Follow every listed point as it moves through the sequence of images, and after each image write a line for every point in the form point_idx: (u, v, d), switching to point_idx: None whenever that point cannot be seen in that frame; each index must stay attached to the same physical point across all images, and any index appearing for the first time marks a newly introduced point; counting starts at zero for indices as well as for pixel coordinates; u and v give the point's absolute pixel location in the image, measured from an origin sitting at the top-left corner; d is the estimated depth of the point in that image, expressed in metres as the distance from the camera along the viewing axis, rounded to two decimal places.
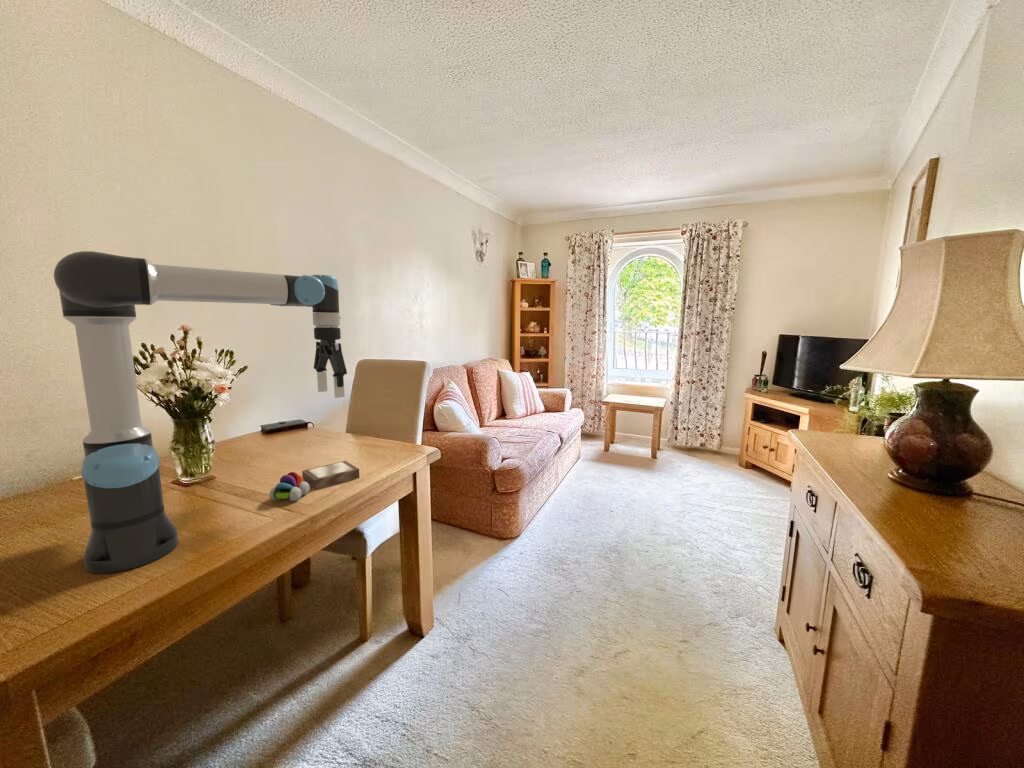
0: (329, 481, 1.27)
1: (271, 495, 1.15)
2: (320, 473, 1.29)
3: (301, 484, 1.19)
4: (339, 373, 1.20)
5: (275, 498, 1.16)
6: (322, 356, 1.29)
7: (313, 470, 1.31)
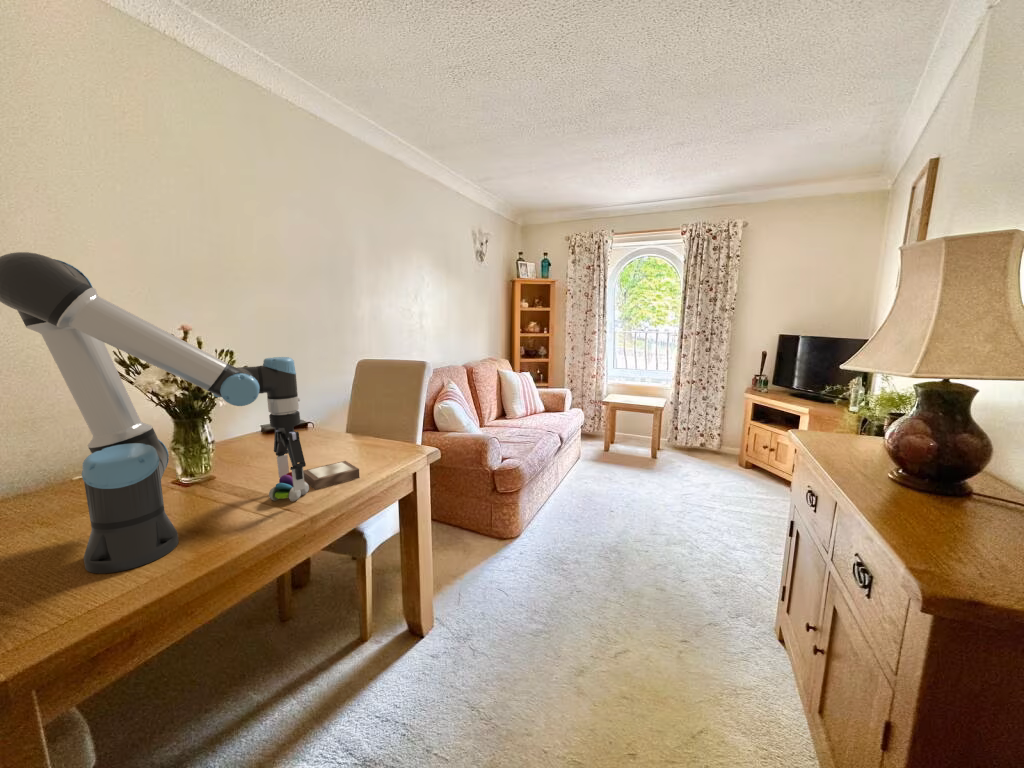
0: (329, 481, 1.27)
1: (270, 495, 1.15)
2: (320, 473, 1.29)
3: None
4: (297, 467, 1.10)
5: (274, 498, 1.16)
6: (281, 442, 1.18)
7: (313, 470, 1.31)
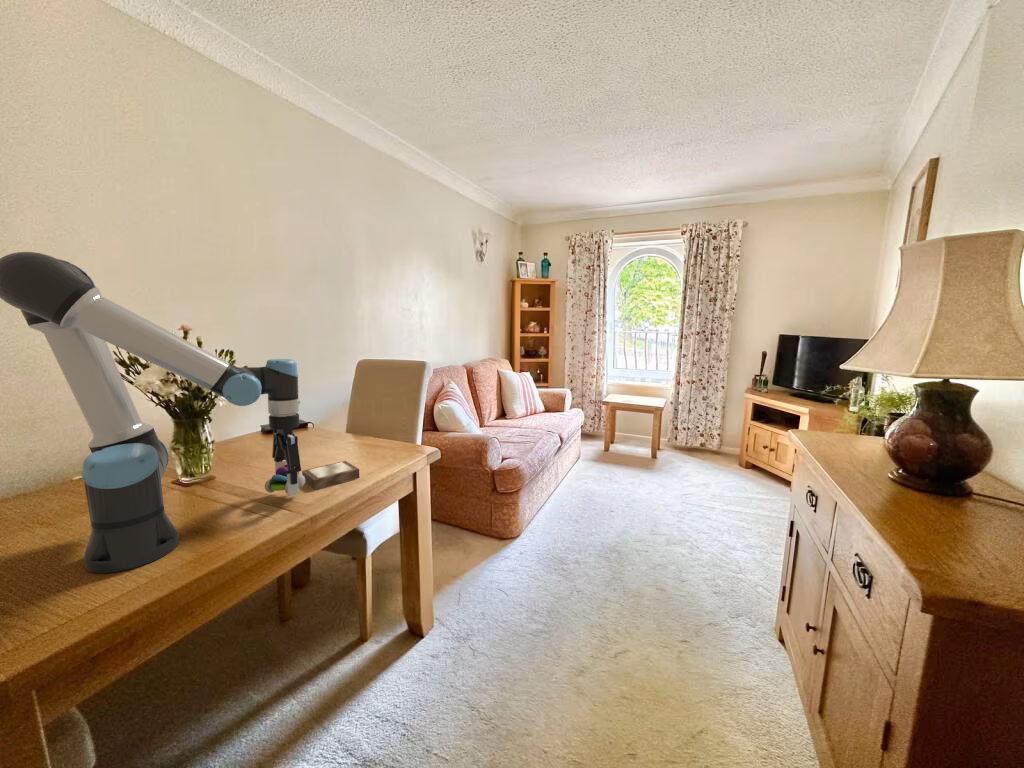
0: (329, 481, 1.27)
1: (266, 487, 1.14)
2: (320, 473, 1.29)
3: None
4: (292, 472, 1.10)
5: (270, 490, 1.15)
6: (279, 445, 1.18)
7: (313, 470, 1.31)
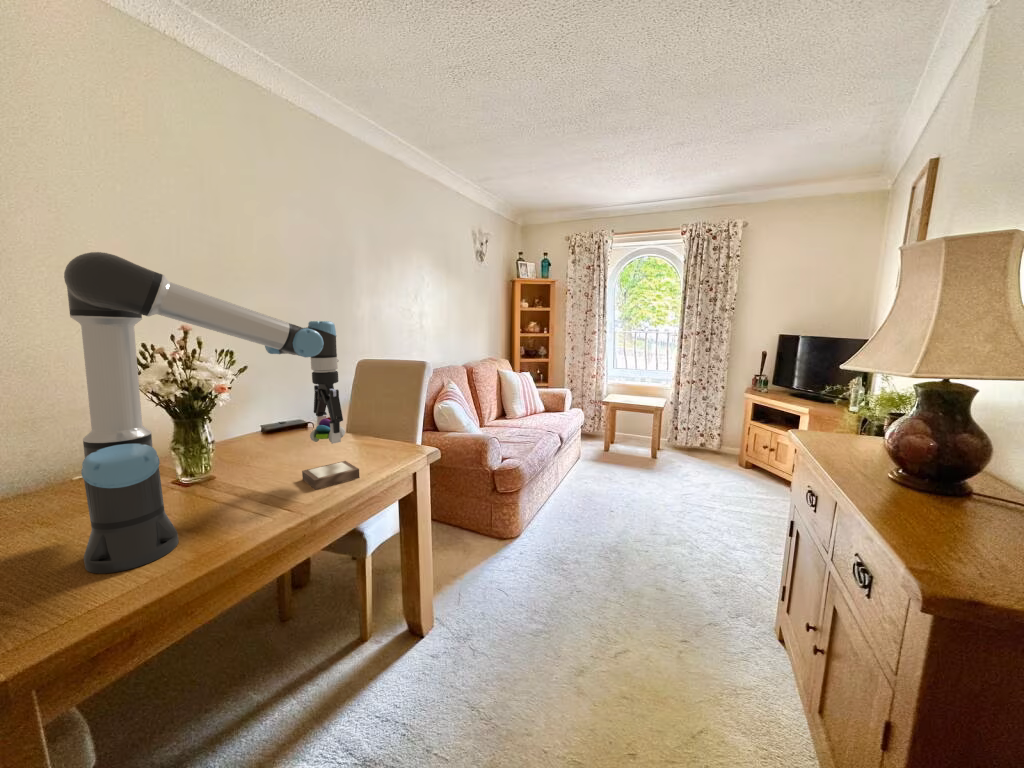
0: (329, 481, 1.27)
1: (312, 436, 1.27)
2: (320, 473, 1.29)
3: None
4: (335, 421, 1.23)
5: (315, 439, 1.28)
6: (321, 399, 1.30)
7: (313, 470, 1.31)
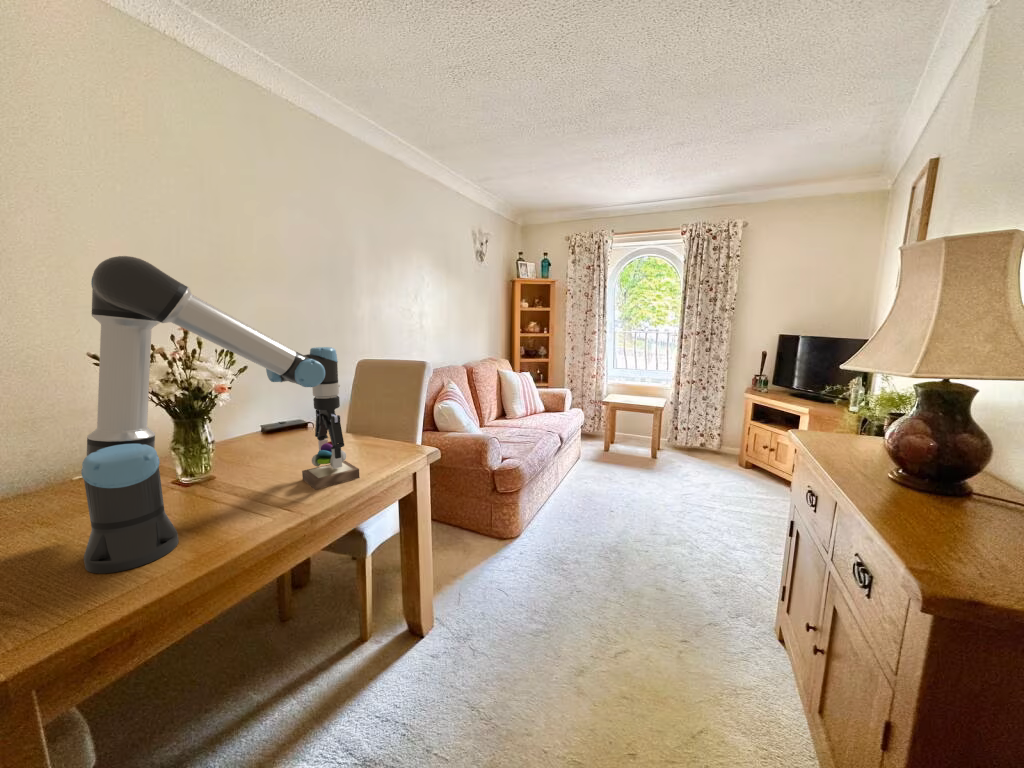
0: (329, 481, 1.27)
1: (313, 461, 1.28)
2: (320, 473, 1.29)
3: None
4: (337, 447, 1.24)
5: (317, 464, 1.29)
6: (322, 424, 1.31)
7: (313, 470, 1.31)
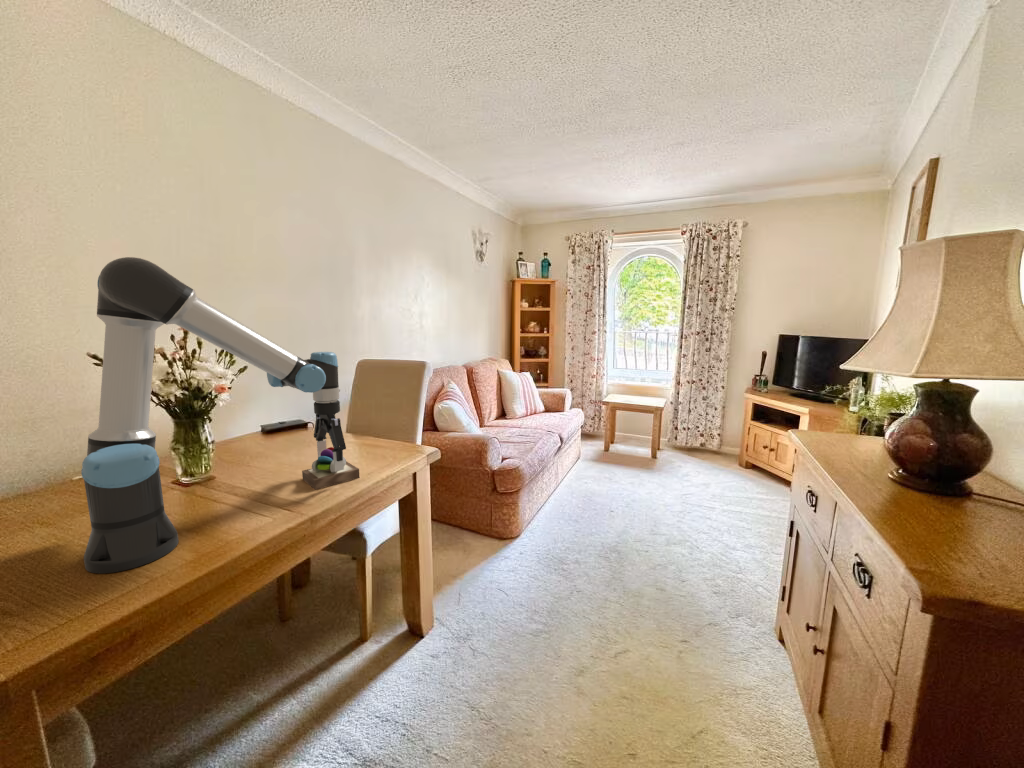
0: (329, 481, 1.27)
1: (313, 467, 1.28)
2: (320, 473, 1.29)
3: None
4: (338, 449, 1.23)
5: (317, 470, 1.29)
6: (322, 428, 1.32)
7: None
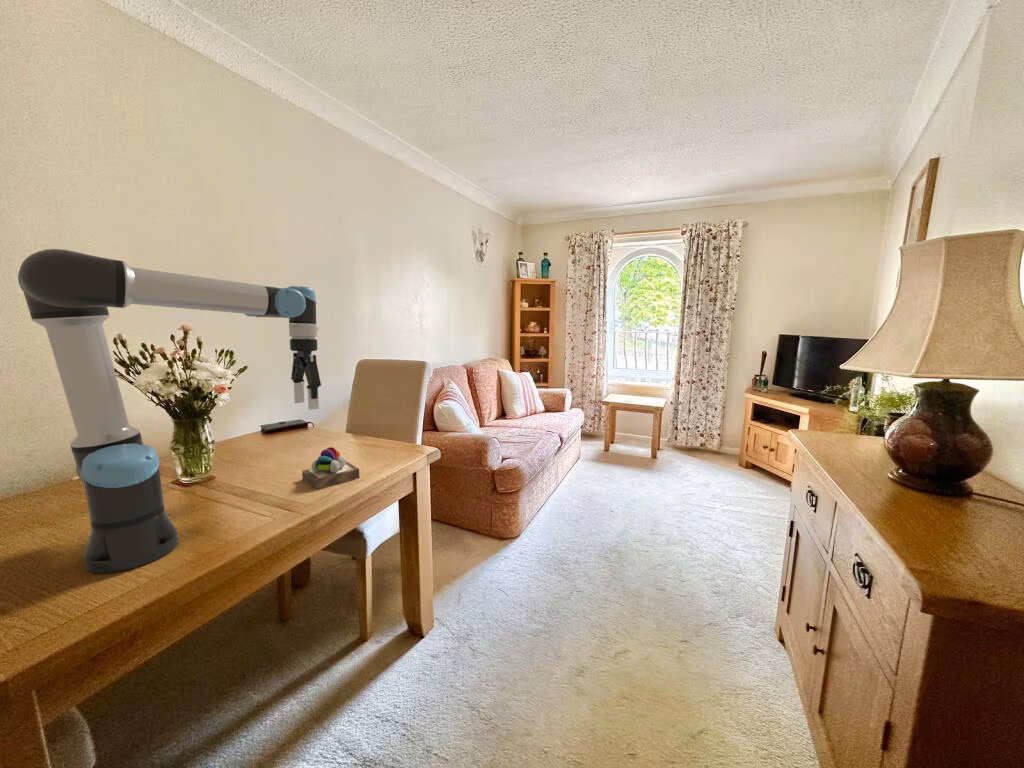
0: (329, 481, 1.27)
1: (313, 467, 1.28)
2: (320, 473, 1.29)
3: (339, 458, 1.32)
4: (313, 385, 1.19)
5: (316, 470, 1.29)
6: (298, 367, 1.28)
7: None
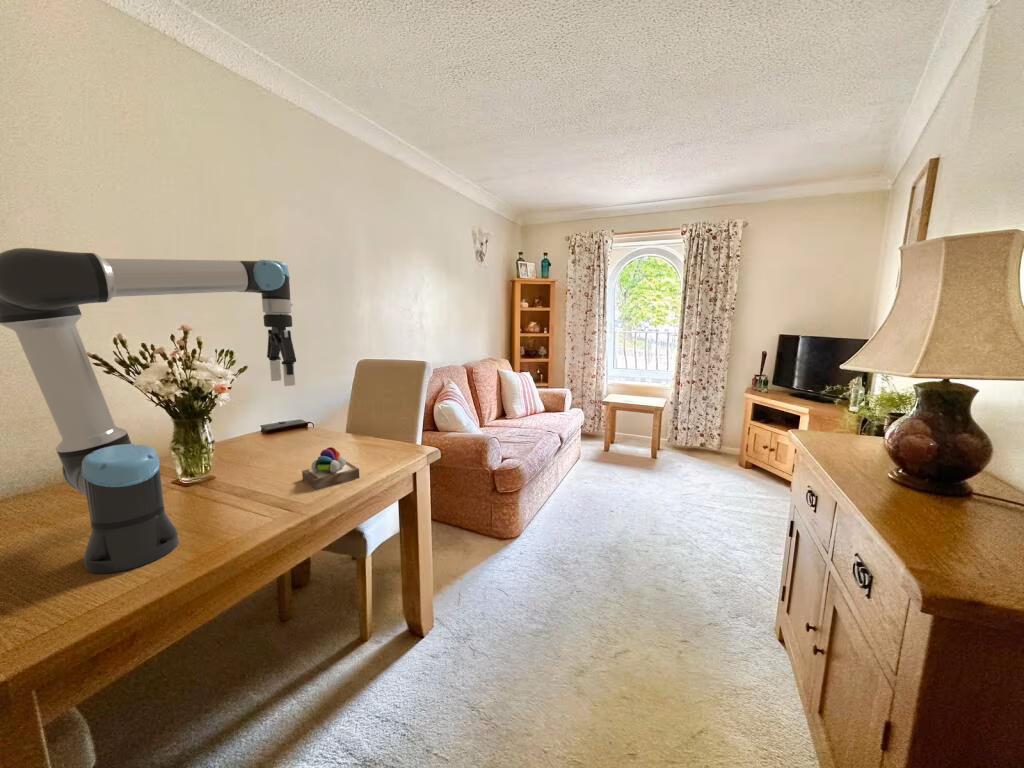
0: (329, 481, 1.27)
1: (313, 467, 1.28)
2: (320, 473, 1.29)
3: (339, 458, 1.32)
4: (287, 361, 1.18)
5: (316, 470, 1.29)
6: (274, 344, 1.26)
7: None
